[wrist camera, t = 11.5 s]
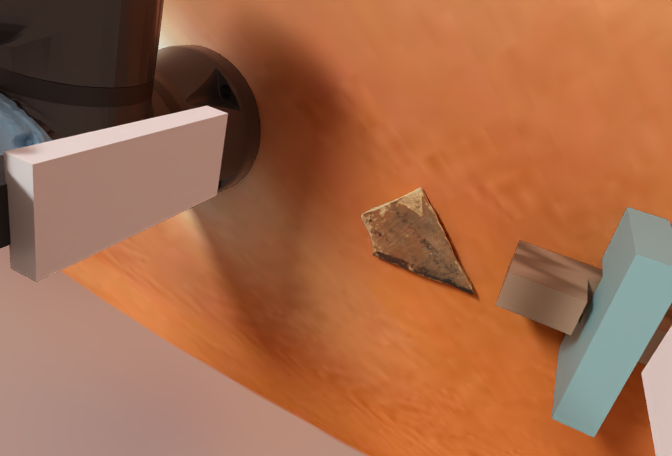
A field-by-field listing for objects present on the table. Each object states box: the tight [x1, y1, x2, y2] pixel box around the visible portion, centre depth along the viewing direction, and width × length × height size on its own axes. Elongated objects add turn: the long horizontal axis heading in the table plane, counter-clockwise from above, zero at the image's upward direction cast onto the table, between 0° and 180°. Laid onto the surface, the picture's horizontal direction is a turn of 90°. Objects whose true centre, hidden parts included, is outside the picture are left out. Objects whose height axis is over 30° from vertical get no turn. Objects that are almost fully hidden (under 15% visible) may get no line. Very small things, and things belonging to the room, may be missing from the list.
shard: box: [361, 187, 474, 294], centre depth 50 cm, size 11×8×2 cm
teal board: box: [552, 207, 672, 437], centre depth 39 cm, size 14×3×10 cm, turn 167°
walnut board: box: [496, 240, 672, 365], centre depth 41 cm, size 16×3×7 cm, turn 77°
